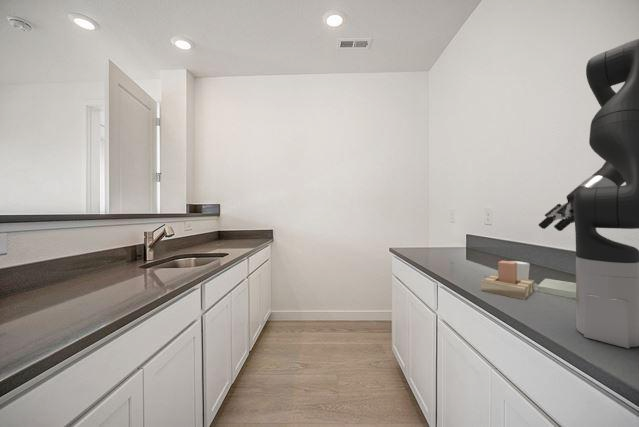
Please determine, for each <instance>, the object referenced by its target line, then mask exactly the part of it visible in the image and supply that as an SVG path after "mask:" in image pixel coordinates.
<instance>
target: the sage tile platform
mask: <svg viewBox="0 0 639 427" xmlns="http://www.w3.org/2000/svg"><path fill="white" fill-rule="evenodd" d="M537 293H544V294H547V295H548V294H549V295H555V296H559V297H564V298H565V297H566V298H571V299H574V300H576V282H571V281H564V280H557V279H552V278H544V279H543V280H542V281H541V282H540V283H539V284H538V285H537Z"/></svg>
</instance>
